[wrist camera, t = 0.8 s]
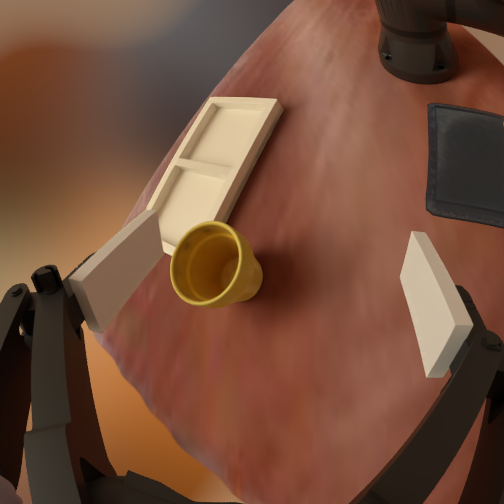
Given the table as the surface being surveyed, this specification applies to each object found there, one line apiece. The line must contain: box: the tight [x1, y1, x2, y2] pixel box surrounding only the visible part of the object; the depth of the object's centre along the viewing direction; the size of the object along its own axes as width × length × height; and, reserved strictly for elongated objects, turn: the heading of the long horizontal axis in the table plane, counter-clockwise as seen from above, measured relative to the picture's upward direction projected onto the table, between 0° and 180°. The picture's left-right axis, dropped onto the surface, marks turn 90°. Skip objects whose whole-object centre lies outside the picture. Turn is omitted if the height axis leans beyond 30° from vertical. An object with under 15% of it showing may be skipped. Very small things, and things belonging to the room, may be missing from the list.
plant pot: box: [170, 221, 263, 308], centre depth 40 cm, size 10×10×10 cm
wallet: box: [426, 103, 504, 228], centre depth 32 cm, size 20×2×15 cm
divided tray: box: [146, 97, 284, 256], centre depth 51 cm, size 31×16×3 cm, turn 152°
